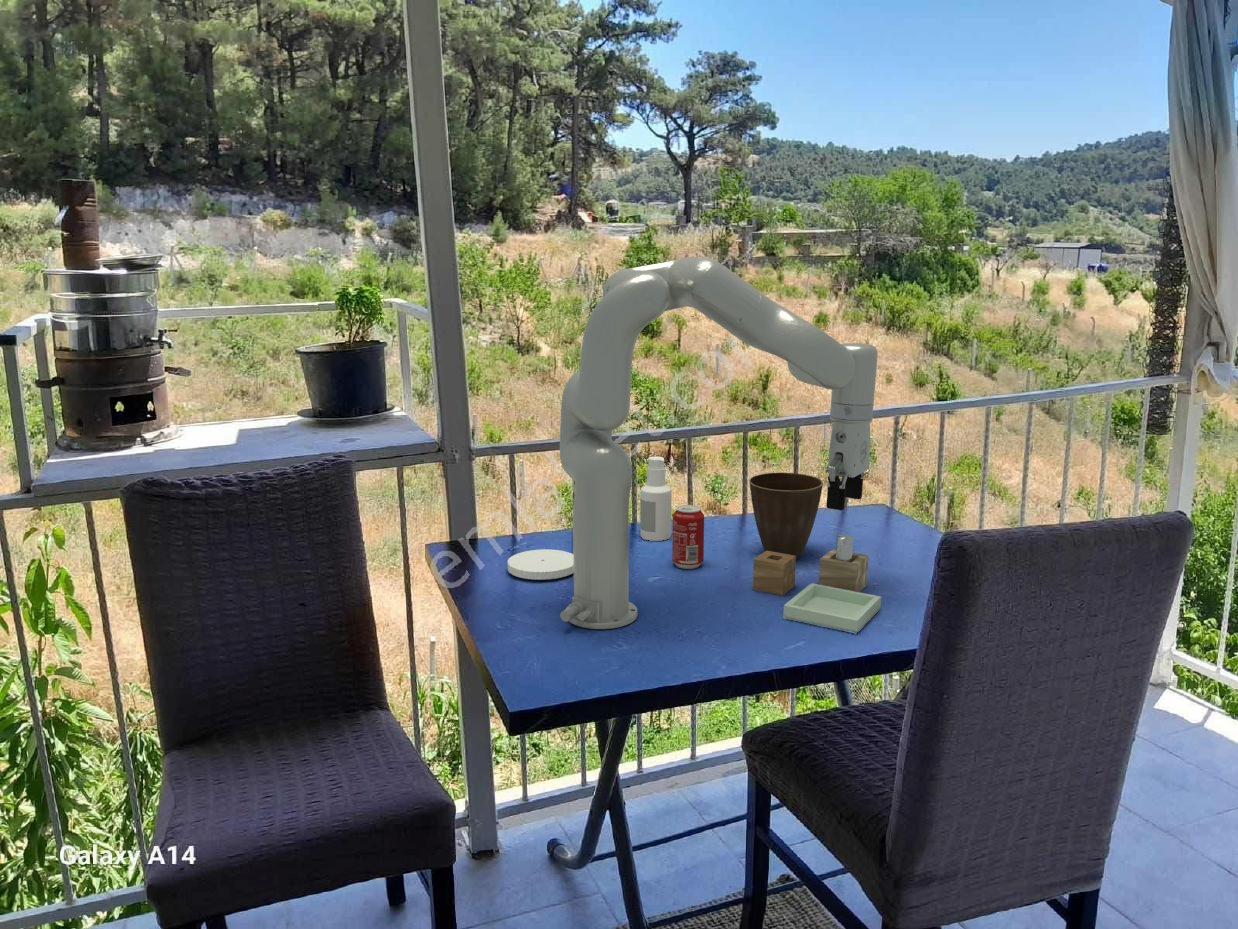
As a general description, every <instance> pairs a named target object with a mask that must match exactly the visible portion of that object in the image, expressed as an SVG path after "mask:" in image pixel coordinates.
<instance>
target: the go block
mask: <svg viewBox="0 0 1238 929" xmlns="http://www.w3.org/2000/svg"><path fill="white" fill-rule="evenodd" d="M868 569H869V555H868V554H864V553H858V552H852V562H847V561H841V560H836V548H835V549H834V548H832V549H831V550H830V551H828V552H827V553H826V554H824V555H823V556H822V557H821V558H819V572H818V585H823V586H829V587H834V588H839V589H844V590H849V591H855V592H860V593H861V591H862V590H863V589H864V588H865V587H867V584H868V573H869V570H868Z"/></svg>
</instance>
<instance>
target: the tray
mask: <svg viewBox="0 0 1238 929" xmlns="http://www.w3.org/2000/svg"><path fill="white" fill-rule="evenodd" d="M881 603H882V596H881V595H875V594H870V593H864V592H861V591H860V592H855V591H849V590H844V589H839V588H834V587H829V586H823V585H819V583H818V584H817V583H812V582H811V583H809V584H808V585H807V586H806V587H805V588H803V589H802V590H801V591H799V592H798V593H797V594H796V595H795V596H793V597H792V598H791V599H789V601H788V602H786V603H785V604H783V612H782V613H783V616H782V618H785V619H784V620H786V619H791V620H796V621H801V622H804V623H812V624H815V625H820V626H827V627H831V628H835V629H840V630H846V631H852V632H855V633H857V632H858V631H859V630H860V629H861V628H862V627H863V626H864V625H865V624H866V623H867V622H868V621H869V620H870V619H871V618H872V617H873V616H874V615H875V614H876V613H877V612H878V611H879V610H881V605H882V604H881ZM879 612H880V611H879ZM879 612H878V613H879ZM878 613H877V614H878ZM877 614H876V615H877ZM876 615H875V616H876ZM875 616H874V617H875ZM874 617H873V618H874ZM873 618H872V619H873ZM872 619H871V620H872ZM871 620H870V621H871ZM870 621H869V622H870ZM869 622H868V623H869ZM804 623H803V624H804ZM868 623H867V624H868ZM867 624H866V625H867ZM866 625H865V626H866ZM865 626H864V627H865Z"/></svg>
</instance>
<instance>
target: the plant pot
mask: <svg viewBox="0 0 1238 929" xmlns="http://www.w3.org/2000/svg"><path fill="white" fill-rule="evenodd" d="M748 480H749V488H750V489H749V490H750V498H751V503H752V505H751V506H752V509H753V511H752V512H753V514H754V515H753V517H754V520H755V524H756V529H757V532H758V535H759V536H758V537H759V539H760V542H761V546H762V548H763V552H765V551H772V552H777V553H783V554H788V555H794V556H796V560H798V559H800V558H801V557H802V554H803V552H804V550H805V548H806V546H807V544H808V541H809V539H810V537H811V533H812V531H813V527H814V524H815V520H816V517H817V514H818V510H819V506H820V502H821V497H822V491H823V486H824V482H823V480H822V479H820V478H818V477H816V476H813V475H809V474H804V473H796V472H795V473H794V472H767V473H760V474H757V475H754V476H752V477H750V478H749V479H748Z"/></svg>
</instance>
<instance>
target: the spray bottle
mask: <svg viewBox="0 0 1238 929" xmlns="http://www.w3.org/2000/svg"><path fill="white" fill-rule="evenodd" d="M647 462H648V463H647V464H648V465H647V467H646V469H647V470H646V484H645V485H643V486H641V488H640V490H639V491H640V503H639V504H640V505H639V506H640V507H639V508H640V511H639V512H640V514H639V515H640V517H639V518H640V519H639V520H640V522H644V523H639V524H640V530H639V531H640V532H639V533H640V534H639V535H640V538H641V537H642V538H641V539H643V540H645V541H648V540H649V541H650V542H663V540H664V541H666V540H667V539H668V540H670V539H671V538H672V537H671V536H672V487H670V486H668V485H667V484H666V467H665V459H664V457H663V456H650V457H648V461H647ZM668 540H667V541H668Z"/></svg>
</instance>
